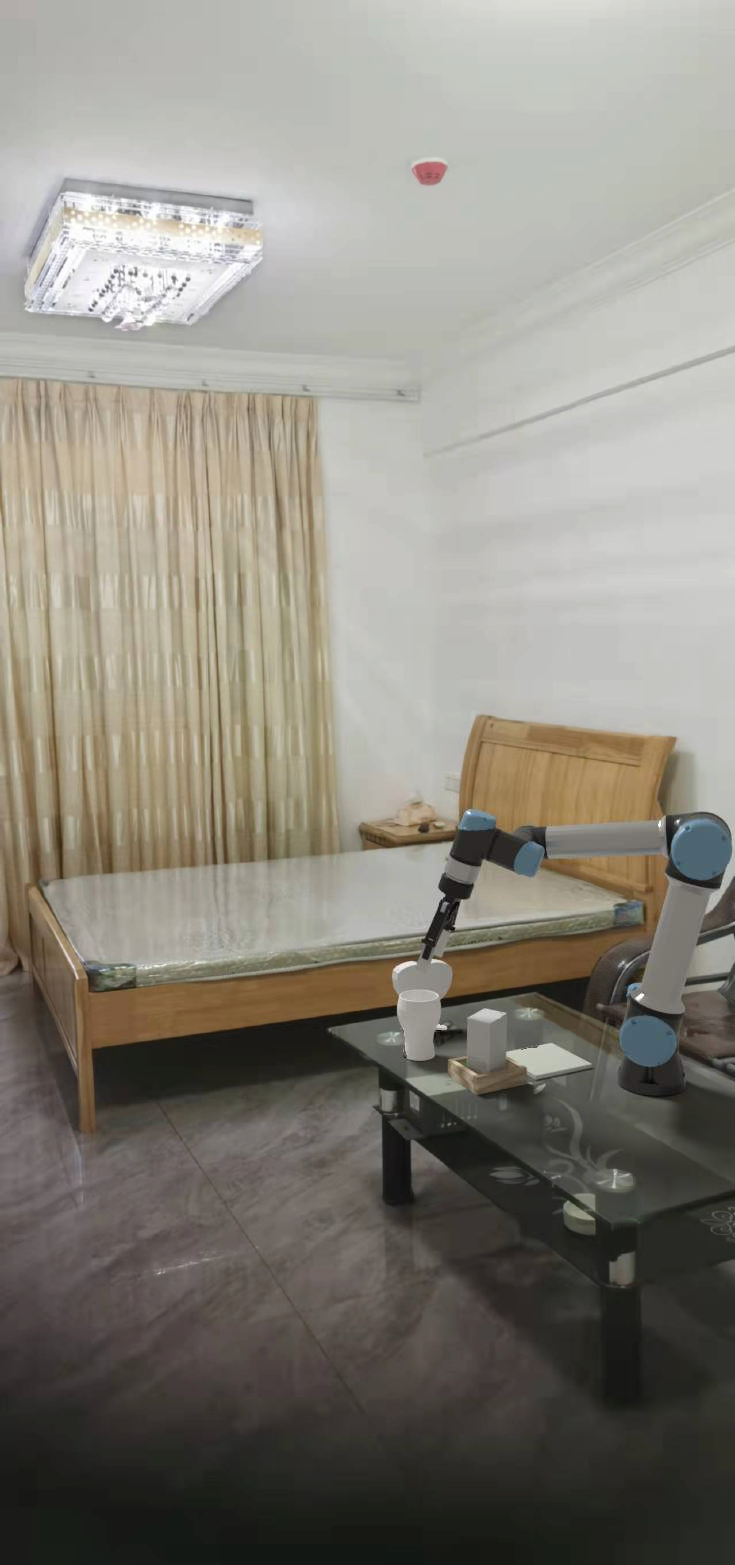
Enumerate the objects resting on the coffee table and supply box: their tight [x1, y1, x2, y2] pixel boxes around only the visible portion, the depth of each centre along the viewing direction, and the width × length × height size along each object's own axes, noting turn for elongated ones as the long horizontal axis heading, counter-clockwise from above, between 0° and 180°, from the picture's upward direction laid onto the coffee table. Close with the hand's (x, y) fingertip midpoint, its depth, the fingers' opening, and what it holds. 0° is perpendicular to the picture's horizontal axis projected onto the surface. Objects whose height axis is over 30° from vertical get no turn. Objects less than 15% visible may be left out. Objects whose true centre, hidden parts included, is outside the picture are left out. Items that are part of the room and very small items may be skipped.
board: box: [506, 1042, 593, 1081], centre depth 279 cm, size 16×16×1 cm
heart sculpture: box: [391, 958, 453, 1031], centre depth 302 cm, size 16×5×18 cm, turn 111°
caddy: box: [447, 1055, 528, 1096], centre depth 268 cm, size 12×13×4 cm
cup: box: [396, 990, 442, 1062], centre depth 283 cm, size 11×11×15 cm
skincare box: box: [466, 1008, 508, 1075], centre depth 268 cm, size 8×7×16 cm
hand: (428, 963), depth 264 cm, fingers open, 13 cm apart
